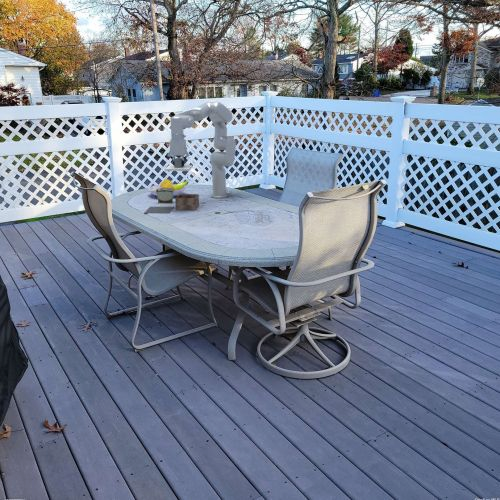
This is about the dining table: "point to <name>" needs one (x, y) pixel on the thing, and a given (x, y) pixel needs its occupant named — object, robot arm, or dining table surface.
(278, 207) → the dining table surface
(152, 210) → the rubber mat
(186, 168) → the lid
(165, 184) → the fruit bowl
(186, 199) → the storage box
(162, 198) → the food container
